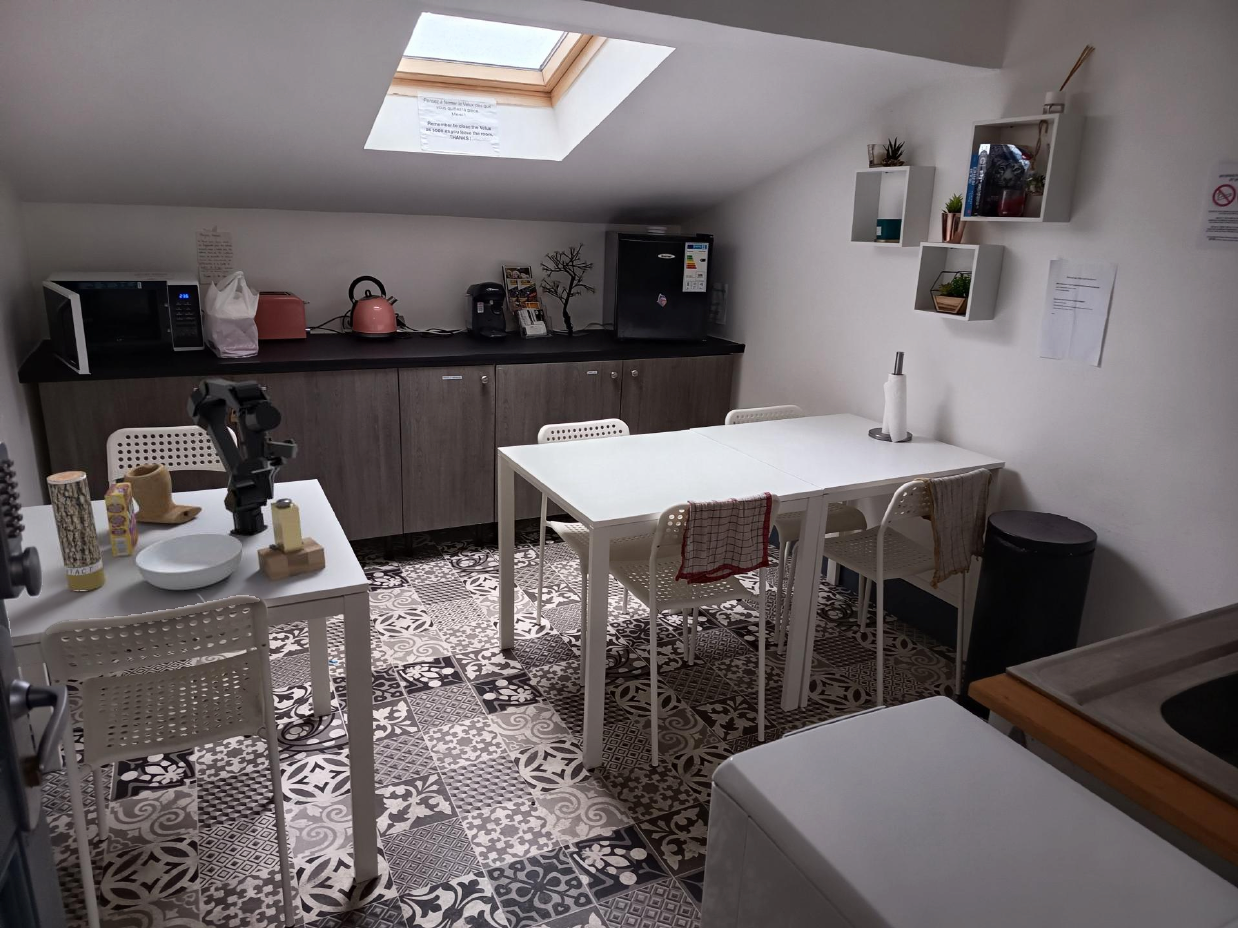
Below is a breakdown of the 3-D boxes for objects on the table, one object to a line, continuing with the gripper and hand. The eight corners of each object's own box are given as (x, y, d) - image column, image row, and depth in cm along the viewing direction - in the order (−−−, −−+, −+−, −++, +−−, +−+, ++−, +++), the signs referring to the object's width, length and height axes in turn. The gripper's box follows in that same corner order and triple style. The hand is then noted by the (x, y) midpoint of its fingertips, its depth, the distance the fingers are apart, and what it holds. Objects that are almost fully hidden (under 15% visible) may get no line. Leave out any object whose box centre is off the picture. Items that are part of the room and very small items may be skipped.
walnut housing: (259, 570, 190) (256, 547, 188) (311, 556, 197) (309, 535, 196) (272, 582, 184) (269, 559, 182) (325, 568, 192) (323, 545, 190)
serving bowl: (135, 608, 172) (130, 578, 170) (145, 567, 190) (140, 539, 188) (246, 592, 180) (242, 562, 178) (245, 554, 198) (241, 527, 196)
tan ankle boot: (120, 526, 212) (110, 470, 208) (153, 510, 223) (145, 456, 219) (172, 532, 209) (163, 475, 205) (204, 515, 220) (196, 461, 216)
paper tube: (79, 579, 184) (58, 471, 176) (111, 578, 184) (92, 471, 176) (62, 593, 177) (39, 481, 169) (96, 592, 178) (74, 481, 170)
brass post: (277, 564, 192) (270, 499, 187) (294, 559, 195) (287, 495, 190) (287, 573, 188) (279, 506, 183) (304, 568, 190) (298, 502, 185)
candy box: (134, 555, 196) (123, 494, 191) (113, 557, 195) (101, 495, 190) (140, 540, 204) (130, 481, 199) (120, 543, 202) (109, 483, 198)
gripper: (276, 428, 188) (293, 495, 189) (299, 426, 206) (315, 488, 208) (226, 439, 187) (244, 506, 188) (254, 436, 206) (270, 497, 207)
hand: (270, 499), depth 198 cm, fingers closed
